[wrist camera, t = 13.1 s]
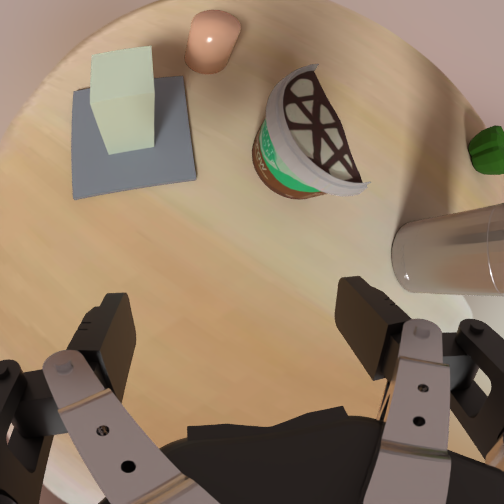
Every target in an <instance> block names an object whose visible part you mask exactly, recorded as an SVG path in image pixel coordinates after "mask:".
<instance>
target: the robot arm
mask: <svg viewBox="0 0 504 504" xmlns="http://www.w3.org/2000/svg"><path fill="white" fill-rule="evenodd" d="M392 264H393V269H394V273H395V275H396V278H397V280H398V281H399V283H400V284H401V285H402V286H403V287H404V289H406V290H408V291H410V292H413V293H431V294H450V295H477V296H504V203H502V204H498V205H493V206H488V207H483V208H478V209H473V210H468V211H463V212H458V213H453V214H448V215H443V216H438V217H434V218H428V219H423V220H418V221H414V222H409V223H407V224H405V225H403V226H402V227H401V228H400V229H399V231H398V232H397V234H396V237H395V239H394V242H393V247H392ZM335 322H336V326H337V328H338V330H339V331H340V332H341V334H342V335H343V337H344V338H345V340H346V341H347V343H348V344H349V346H350V347H351V349H352V350H353V352H354V353H355V355H356V356H357V358H358V359H359V361H360V362H361V363H362V365H363V366H364V368H365V369H366V371H367V372H368V374H369V375H370V377H371V378H372V380H373V381H375V380H379V379H382V378H386V379H387V382H386V385H385V389H384V392H383V396H382V400H381V404H380V407H379V411H378V414H377V418H376V419H373V418H369V417H362V416H348V415H347V413H346V411H345V409H344V407H343V406H339V407H335V408H330V409H325V410H320V411H315V412H310V413H306V414H304V415H301V416H299V417H296V418H294V419H291V420H288V421H286V422H283V423H280V424H278V425H275V426H272V427H258V426H245V425H234V424H218V425H203V426H187V438H183V439H180V440H177V441H174V442H171V443H169V444H167V445H165V446H163V447H161V448H160V449H159V448H158V447H157V446H156V445H155V444H154V443H153V442H152V441H151V439H150V438H149V437H148V436H147V435H146V434H145V432H144V431H143V430H142V429H141V428H140V427H139V425H138V424H137V423H136V422H135V420H134V419H133V418H132V417H131V416H130V414H129V413H128V412H127V410H126V409H125V408H124V407H123V405H122V399H123V395H124V390H125V386H126V382H127V377H128V373H129V369H130V365H131V361H132V357H133V353H134V349H135V345H136V331H135V326H134V321H133V317H132V312H131V307H130V302H129V298H128V295H127V293H107V294H106V296H105V297H104V299H103V301H102V303H101V305H100V307H94V308H93V309H91V310H90V311H89V312H88V313H86V315H85V316H84V318H83V320H82V322H81V324H80V325H79V327H78V330H77V331H76V332H75V334H74V336H73V338H72V340H71V342H70V344H69V345H68V347H67V349H66V350H63V351H59V352H56V353H54V354H53V355H51V356H50V357H48V358H47V359H46V361H45V362H44V364H43V369H42V370H36V371H30V372H24V373H23V371H22V369H21V367H20V365H19V364H18V363H17V362H16V361H14V360H3V361H0V504H39V500H40V494H41V488H42V484H43V479H44V474H45V470H46V465H47V461H48V457H49V452H50V448H51V445H52V441H53V437H54V435H57V434H63V433H69V435H70V437H71V439H72V441H73V443H74V445H75V447H76V448H77V450H78V452H79V454H80V456H81V457H82V459H83V461H84V463H85V464H86V466H87V468H88V469H89V471H90V473H91V474H92V476H93V478H94V479H95V481H96V482H97V484H98V486H99V487H100V489H101V490H102V492H103V493H104V495H105V496H106V497H105V498H104V499H103V500H102V501H101V502H99V503H98V504H504V339H503V338H502V337H501V336H500V335H498V334H497V333H496V332H495V331H494V330H492V328H491V327H489V326H488V325H487V324H485V323H484V322H482V321H479V320H475V319H465V320H463V321H461V322H460V325H459V328H458V331H457V333H442V331H441V329H440V328H439V327H438V326H437V325H436V324H434V323H433V322H430V321H428V320H424V319H411V318H410V317H409V316H408V315H407V314H406V313H405V312H404V311H403V310H402V309H401V308H400V307H398V306H397V305H395V303H394V302H393V301H392V300H390V298H389V297H388V296H387V295H386V294H385V293H384V292H382V291H380V290H378V289H376V288H374V287H372V286H370V285H369V284H368V283H367V282H366V281H365V280H364V279H362V278H361V277H360V276H353V277H343V278H341V279H340V280H339V283H338V291H337V299H336V307H335ZM479 368H480V369H481V370H482V371H483V372H484V373H485V374H486V375H487V376H488V377H489V379H490V381H491V386H492V387H491V392H490V394H489V396H488V397H487V396H486V394H485V393H484V392H483V391H482V390H481V388H480V387H479V386H478V385H477V384H476V382H475V381H474V378H475V375H476V373H477V371H478V369H479ZM450 409H451V411H452V412H453V413H454V415H455V416H456V418H457V419H458V421H459V422H460V423H461V425H462V426H463V428H464V429H465V430H466V432H467V433H468V435H469V436H470V438H471V439H472V441H473V442H474V444H475V445H476V446H477V448H478V450H479V451H480V453H481V454H482V456H483V457H484V459H485V463H486V464H485V463H482V462H479V461H476V460H474V459H471V458H468V457H465V456H463V455H460V454H458V453H455V452H452V451H450V450H447V446H448V433H449V416H450ZM11 423H12V424H13V426H14V429H13V432H12V434H11V437H10V440H9V443H8V445H7V441H6V435H7V432H8V429H9V426H10V424H11Z"/></svg>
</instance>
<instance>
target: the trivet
mask: <svg viewBox="0 0 504 504" xmlns="http://www.w3.org/2000/svg"><path fill="white" fill-rule="evenodd" d="M154 90H155V101H154V147H151V148H145V149H139V150H133V151H127V152H121V153H116V154H111V155H109V154H108V151H107V149H106V146H105V144H104V141H103V138H102V136H101V133H100V130H99V128H98V125H97V122H96V119H95V117H94V114H93V111H92V108H91V105H90V88H88V89H84V90H79V91H74V93H73V108H72V143H71V152H72V187H73V199H74V200H77V199H82V198H87V197H92V196H98V195H103V194H109V193H114V192H120V191H126V190H132V189H138V188H144V187H151V186H157V185H164V184H171V183H178V182H186V181H194V180H196V173H195V166H194V159H193V152H192V144H191V137H190V129H189V122H188V114H187V106H186V97H185V89H184V80H183V76H174V77H163V78H154Z"/></svg>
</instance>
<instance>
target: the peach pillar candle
mask: <svg viewBox="0 0 504 504" xmlns="http://www.w3.org/2000/svg"><path fill="white" fill-rule="evenodd" d="M240 31H241V25H240V23H239V21H238V20H237V19H236V18H235V17H234V16H233V15H231V14H229V13H227V12H224V11H220V10H207V11H203V12H200V13H198V14H197V15H196V16H195V17H194V18H193V20H192V23H191V28H190V33H189V37H188V42H187V47H186V52H185V62H186V64H187V65H188V67H189V68H190V69H192V70H193V71H195V72H198V73H201V74H214V73H217V72H220V71H221V70H223V69H224V68H225V66H226V65H227V62H228V60H229V57H230V55H231V52H232V50H233V48H234V45H235V43H236V40H237V38H238V36H239V33H240Z"/></svg>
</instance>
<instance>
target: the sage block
mask: <svg viewBox="0 0 504 504" xmlns="http://www.w3.org/2000/svg"><path fill="white" fill-rule="evenodd" d="M154 101H155V90H154V78H153V64H152V48H151V46H144V47H136V48H129V49H123V50H116V51H111V52H105V53H100V54H95V55H92V62H91V80H90V105H91V108H92V111H93V114H94V117H95V119H96V122H97V125H98V128H99V130H100V133H101V136H102V138H103V141H104V144H105V146H106V149H107V151H108V154H109V155H111V154H116V153H121V152H127V151H133V150H139V149H145V148H151V147H154Z"/></svg>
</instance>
